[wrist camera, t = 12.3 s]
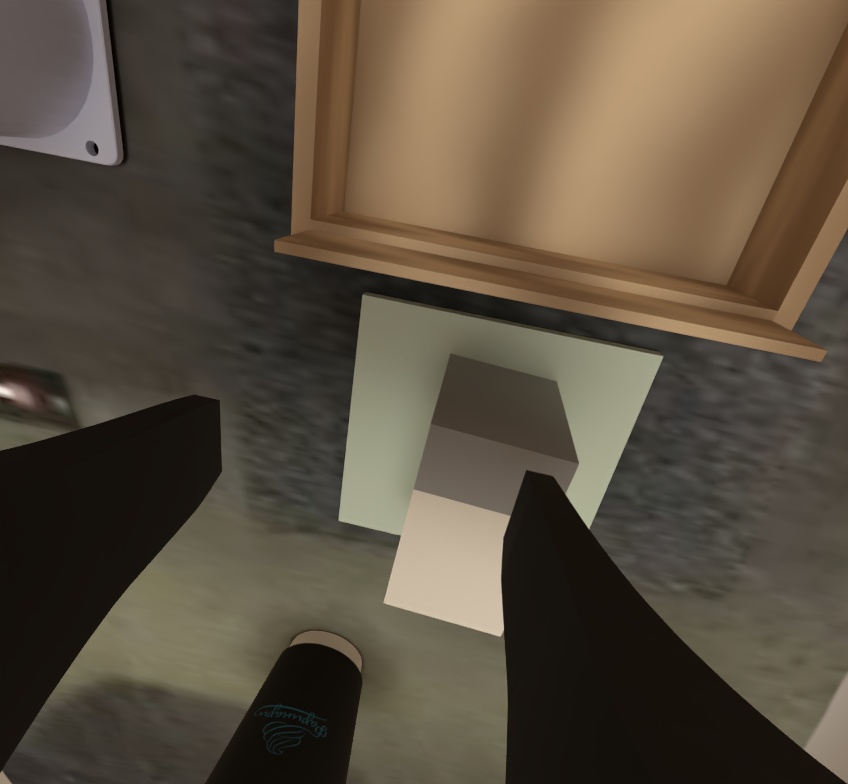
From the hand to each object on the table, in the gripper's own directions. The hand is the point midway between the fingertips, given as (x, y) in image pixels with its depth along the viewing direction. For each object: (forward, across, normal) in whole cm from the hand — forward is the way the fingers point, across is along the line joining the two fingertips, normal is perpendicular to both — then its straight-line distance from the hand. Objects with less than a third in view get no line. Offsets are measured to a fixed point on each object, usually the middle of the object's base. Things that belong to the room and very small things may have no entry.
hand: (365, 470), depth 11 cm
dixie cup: (+10, +2, +23) cm, 25 cm away
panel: (+10, -3, +5) cm, 11 cm away
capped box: (+9, -3, +4) cm, 11 cm away
